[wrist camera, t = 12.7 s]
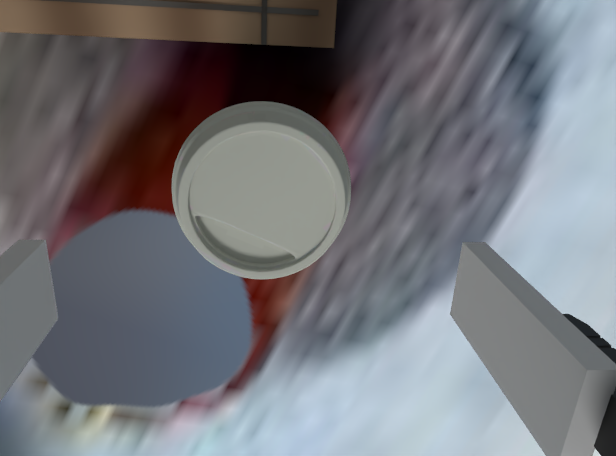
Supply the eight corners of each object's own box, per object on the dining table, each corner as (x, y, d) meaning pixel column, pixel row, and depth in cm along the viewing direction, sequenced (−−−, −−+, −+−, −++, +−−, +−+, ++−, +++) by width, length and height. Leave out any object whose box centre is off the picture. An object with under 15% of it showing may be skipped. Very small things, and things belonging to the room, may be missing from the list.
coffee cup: (170, 125, 32) (122, 176, 21) (282, 53, 31) (295, 66, 20) (243, 228, 35) (236, 320, 24) (347, 165, 34) (390, 231, 23)
